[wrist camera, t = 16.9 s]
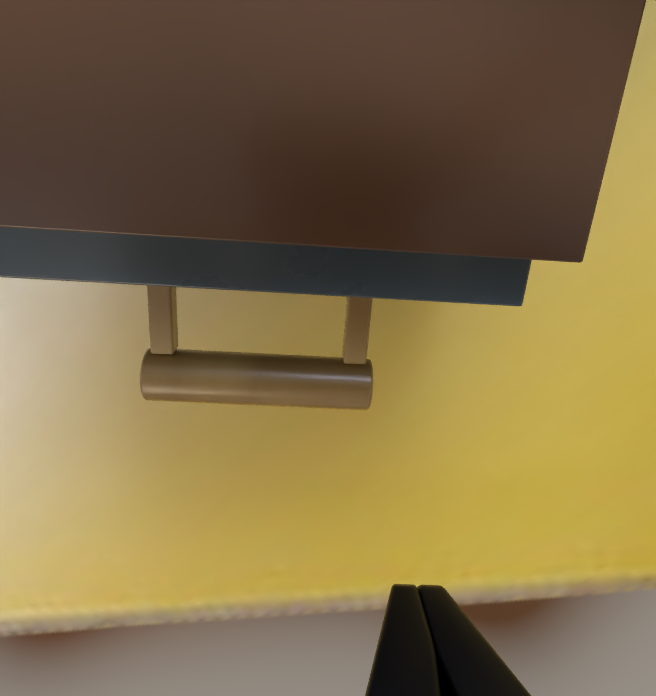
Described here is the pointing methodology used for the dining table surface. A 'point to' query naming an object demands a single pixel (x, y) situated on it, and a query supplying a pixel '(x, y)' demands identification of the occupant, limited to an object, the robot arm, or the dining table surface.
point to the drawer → (262, 276)
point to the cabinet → (315, 120)
